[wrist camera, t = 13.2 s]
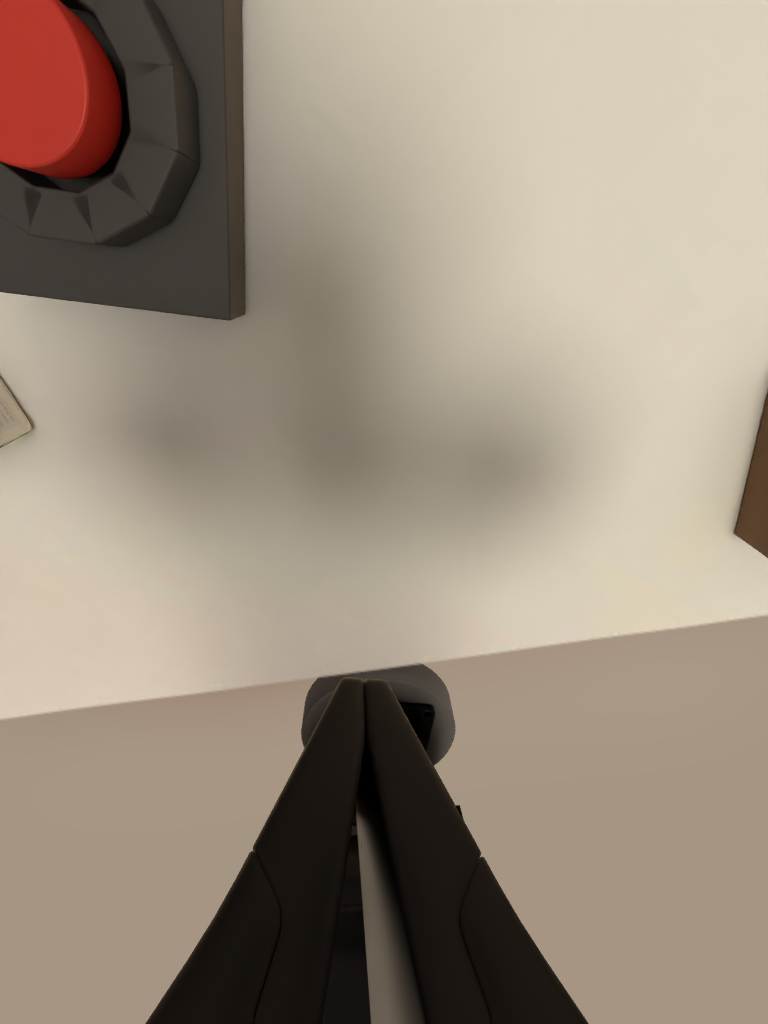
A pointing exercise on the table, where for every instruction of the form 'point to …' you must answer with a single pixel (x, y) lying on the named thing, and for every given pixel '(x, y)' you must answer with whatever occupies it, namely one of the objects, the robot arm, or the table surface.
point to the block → (146, 174)
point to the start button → (55, 92)
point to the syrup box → (11, 418)
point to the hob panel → (756, 495)
